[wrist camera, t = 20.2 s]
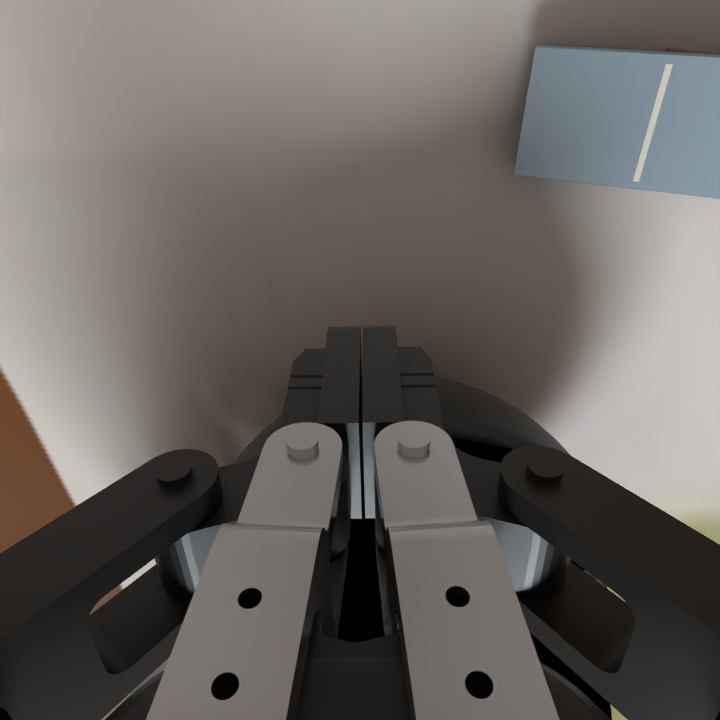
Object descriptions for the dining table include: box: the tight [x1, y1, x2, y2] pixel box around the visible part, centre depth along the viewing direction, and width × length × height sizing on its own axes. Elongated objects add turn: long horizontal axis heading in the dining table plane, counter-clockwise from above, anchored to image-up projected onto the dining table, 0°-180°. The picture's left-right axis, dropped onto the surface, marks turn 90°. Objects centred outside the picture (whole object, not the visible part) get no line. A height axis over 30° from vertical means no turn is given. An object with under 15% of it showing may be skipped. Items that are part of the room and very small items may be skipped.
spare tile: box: [514, 44, 720, 199], centre depth 23 cm, size 2×5×10 cm
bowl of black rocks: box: [234, 378, 612, 720], centre depth 28 cm, size 20×20×19 cm
